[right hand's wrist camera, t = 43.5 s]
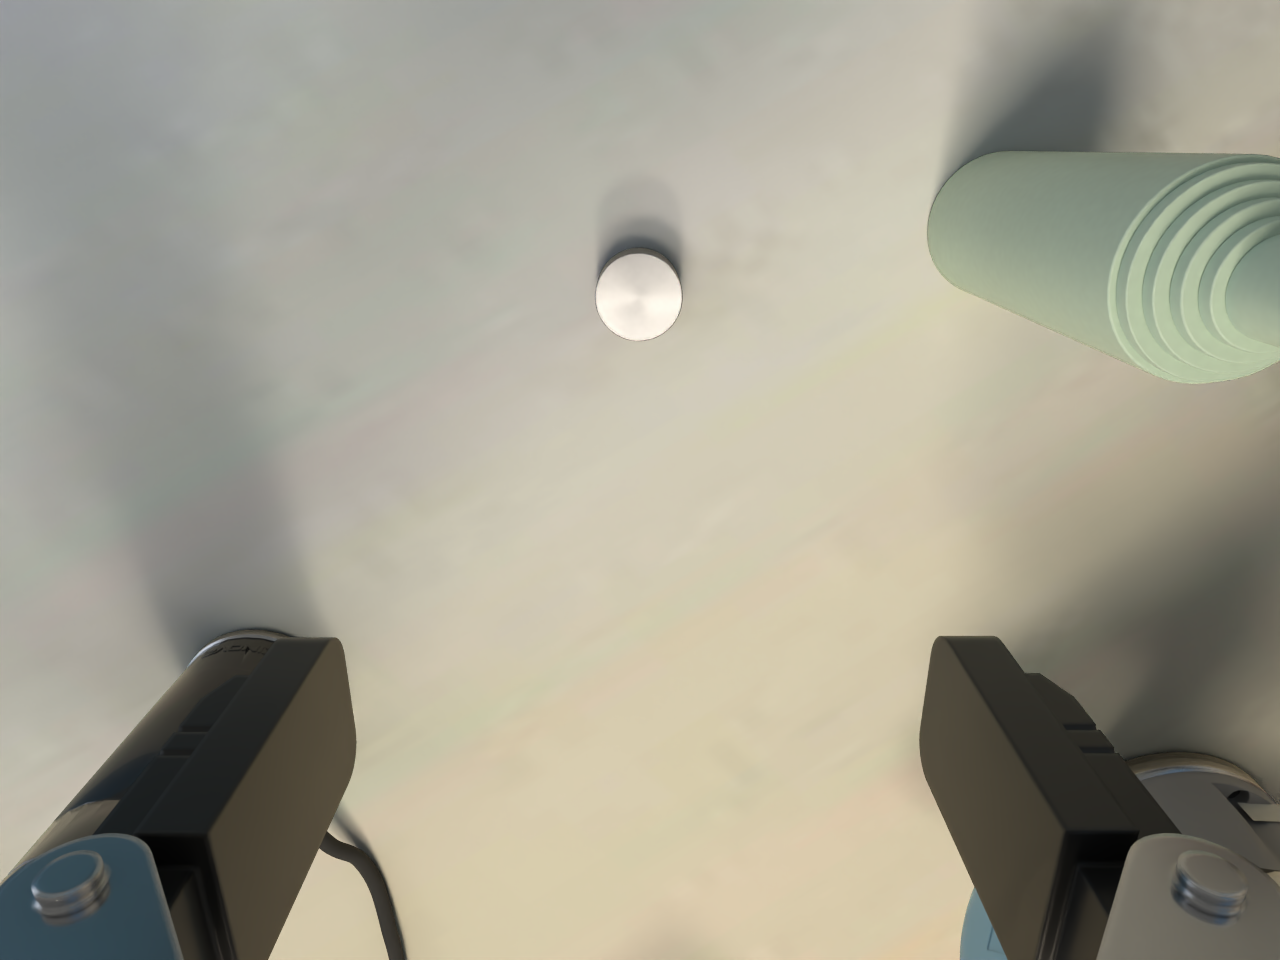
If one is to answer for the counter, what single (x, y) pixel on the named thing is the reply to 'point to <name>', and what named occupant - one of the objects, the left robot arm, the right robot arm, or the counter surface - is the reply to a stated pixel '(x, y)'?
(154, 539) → the counter surface
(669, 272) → the cap
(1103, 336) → the bottle
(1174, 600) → the counter surface
